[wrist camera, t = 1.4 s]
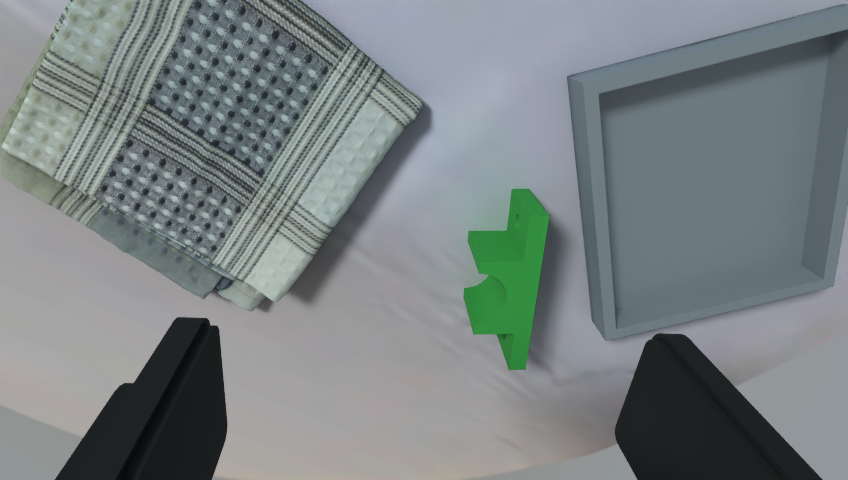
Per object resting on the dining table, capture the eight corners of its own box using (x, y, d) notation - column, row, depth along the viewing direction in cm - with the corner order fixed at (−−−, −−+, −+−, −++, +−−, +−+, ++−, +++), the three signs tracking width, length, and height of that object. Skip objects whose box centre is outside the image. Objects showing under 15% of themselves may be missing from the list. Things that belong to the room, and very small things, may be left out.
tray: (841, 4, 28) (881, 5, 26) (805, 268, 36) (833, 286, 34) (567, 76, 28) (582, 82, 26) (592, 320, 37) (605, 341, 34)
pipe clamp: (470, 187, 31) (484, 214, 27) (528, 187, 32) (550, 214, 28) (460, 330, 36) (470, 372, 32) (509, 329, 37) (526, 371, 32)
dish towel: (135, -139, 23) (101, -158, 20) (428, 100, 29) (433, 111, 26) (-7, 162, 29) (-50, 180, 26) (262, 311, 35) (252, 339, 32)
